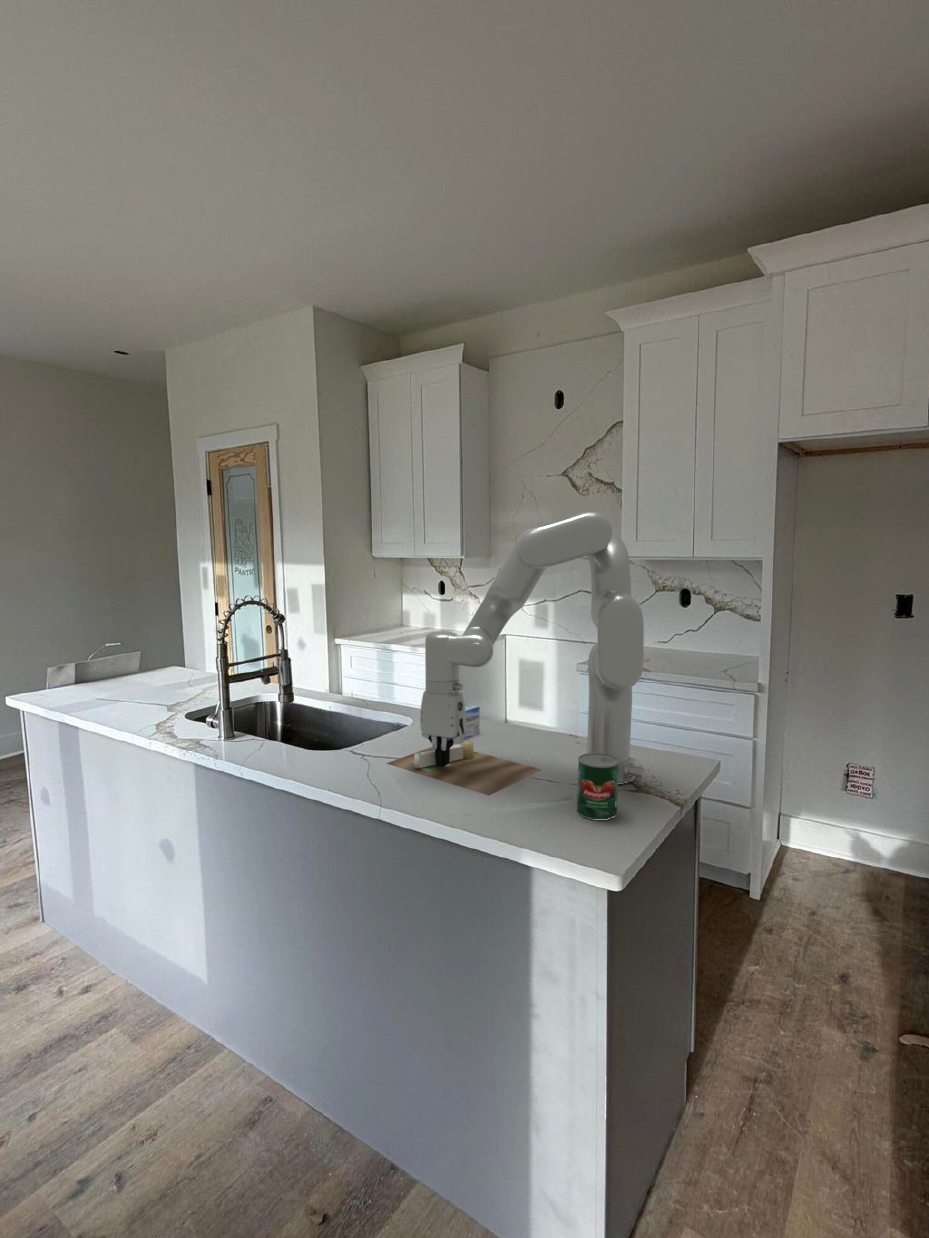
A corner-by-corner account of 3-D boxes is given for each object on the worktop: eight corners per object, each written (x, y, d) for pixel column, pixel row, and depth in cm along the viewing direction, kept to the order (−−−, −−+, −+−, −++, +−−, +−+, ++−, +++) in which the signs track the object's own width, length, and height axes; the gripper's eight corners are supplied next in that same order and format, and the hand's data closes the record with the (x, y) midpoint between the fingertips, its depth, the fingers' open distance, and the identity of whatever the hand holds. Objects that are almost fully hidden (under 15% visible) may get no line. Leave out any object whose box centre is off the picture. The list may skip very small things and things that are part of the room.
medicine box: (462, 744, 179) (462, 712, 178) (448, 741, 181) (448, 709, 180) (479, 737, 185) (480, 706, 184) (466, 734, 188) (466, 703, 187)
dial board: (541, 774, 158) (541, 768, 157) (488, 800, 142) (489, 794, 142) (442, 747, 176) (442, 742, 176) (386, 768, 161) (386, 762, 161)
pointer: (468, 753, 167) (468, 739, 166) (475, 757, 164) (476, 743, 164) (411, 765, 158) (411, 751, 158) (418, 769, 155) (418, 755, 155)
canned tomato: (587, 823, 132) (588, 767, 130) (570, 807, 139) (571, 754, 138) (624, 818, 134) (626, 764, 132) (605, 803, 141) (607, 751, 140)
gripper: (479, 687, 154) (478, 766, 157) (424, 679, 162) (424, 754, 164) (461, 694, 148) (461, 776, 150) (405, 685, 156) (406, 763, 158)
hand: (442, 764), depth 157 cm, fingers closed
